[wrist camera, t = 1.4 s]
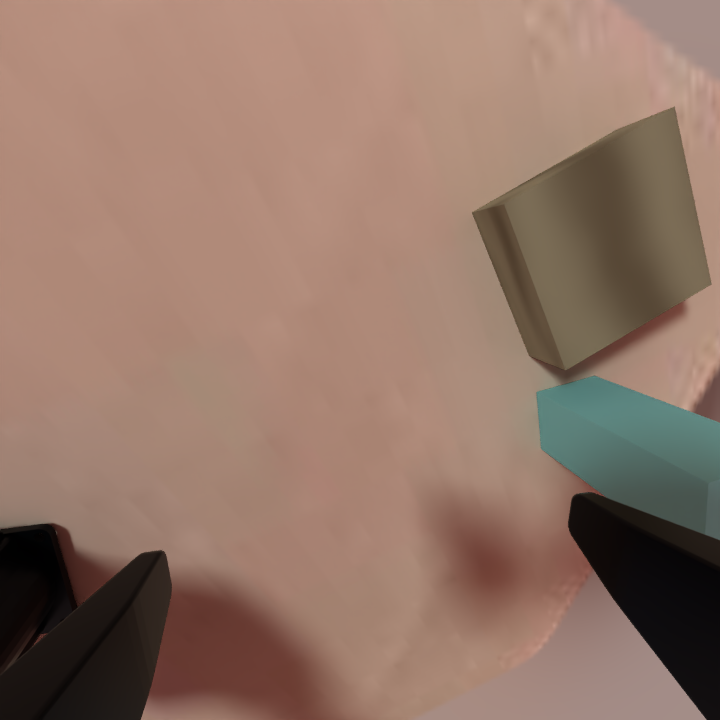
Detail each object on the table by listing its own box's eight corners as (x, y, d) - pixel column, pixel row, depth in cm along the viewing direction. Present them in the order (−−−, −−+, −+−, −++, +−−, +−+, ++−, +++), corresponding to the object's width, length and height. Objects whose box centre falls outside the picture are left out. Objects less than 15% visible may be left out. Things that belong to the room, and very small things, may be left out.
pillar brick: (541, 448, 24) (702, 569, 15) (536, 392, 23) (708, 483, 14) (596, 432, 25) (787, 538, 15) (594, 375, 24) (799, 452, 14)
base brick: (525, 354, 23) (565, 370, 20) (468, 213, 20) (504, 203, 17) (650, 280, 23) (711, 284, 20) (611, 131, 20) (674, 106, 17)
